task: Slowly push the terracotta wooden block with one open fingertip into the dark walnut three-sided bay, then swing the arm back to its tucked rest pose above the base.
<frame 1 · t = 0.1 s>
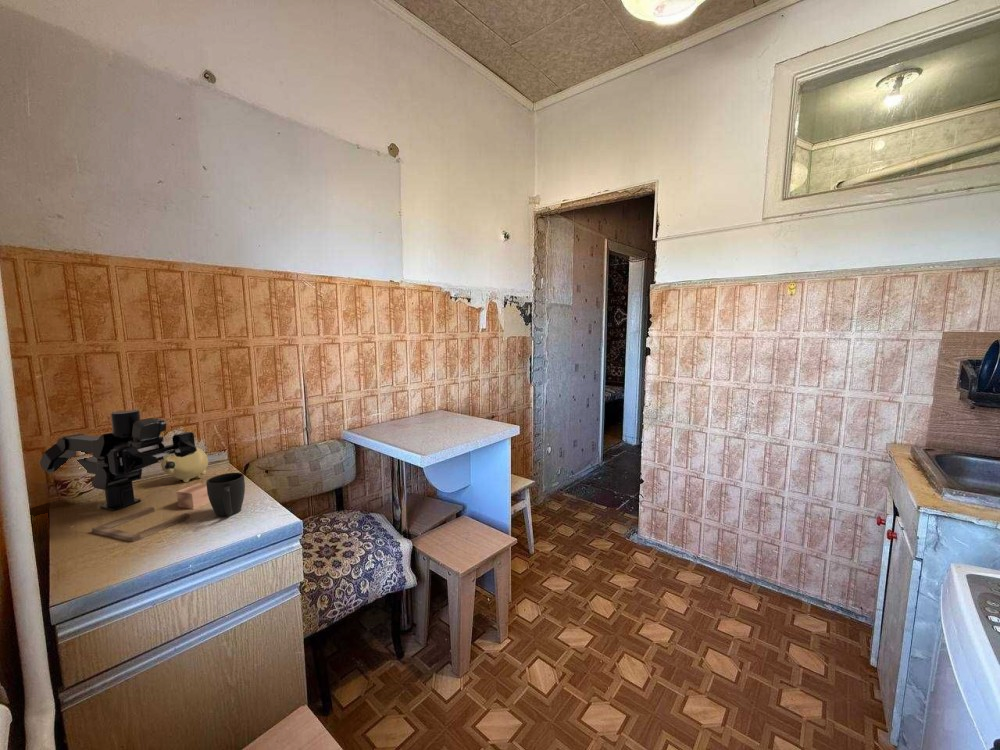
hand: (177, 454, 103), 17 cm above the table, tool horizontal, fingers open, 9 cm apart
terracotta block: (197, 503, 113), on the table
mug: (228, 516, 105), on the table
walnut bay: (146, 523, 102), on the table
toy pig: (187, 480, 132), on the table
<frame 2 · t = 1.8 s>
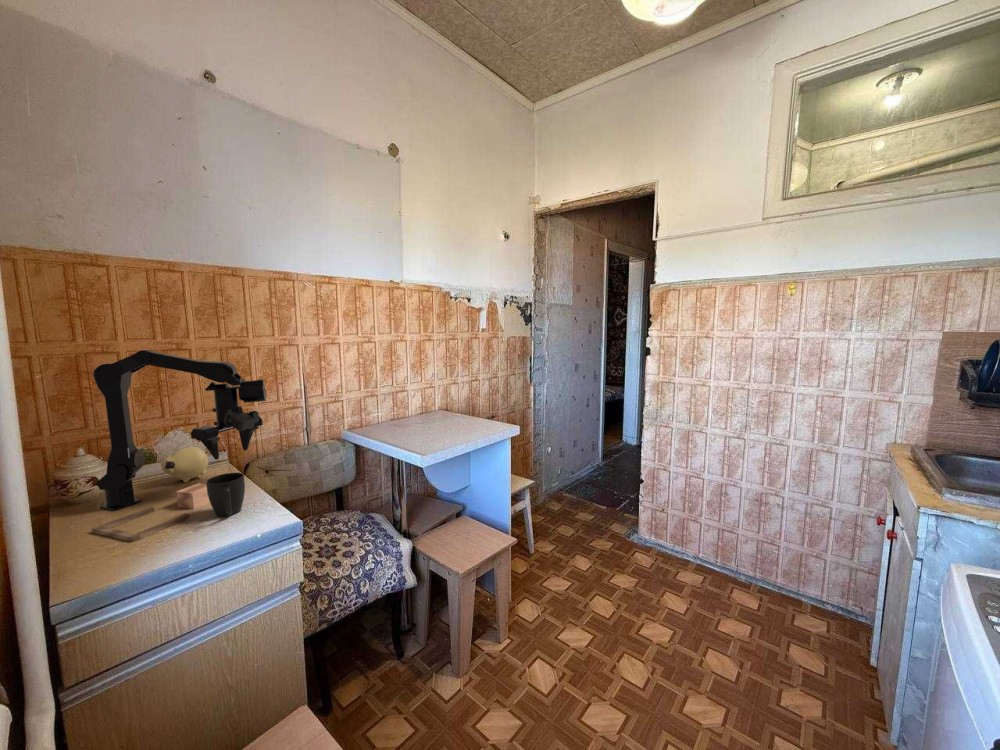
hand: (231, 454, 123), 11 cm above the table, tool pointing down, fingers open, 9 cm apart
nothing on the table moved.
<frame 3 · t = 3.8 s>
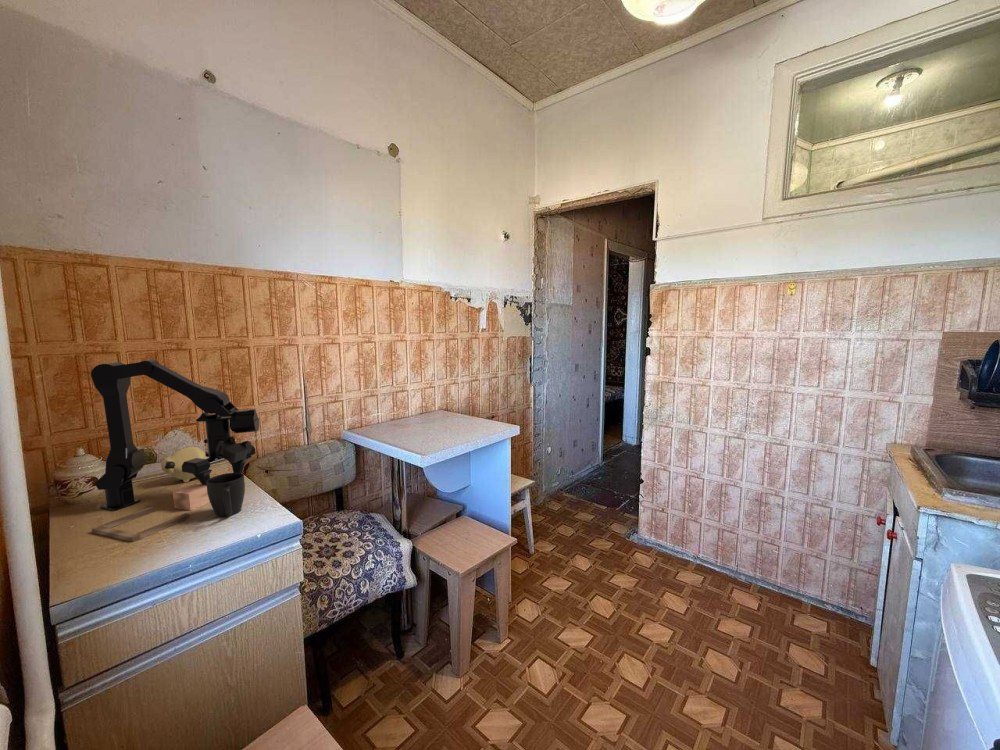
hand: (223, 485, 121), 2 cm above the table, tool pointing down, fingers open, 8 cm apart
terracotta block: (193, 504, 113), on the table, touching gripper
everything else where it was.
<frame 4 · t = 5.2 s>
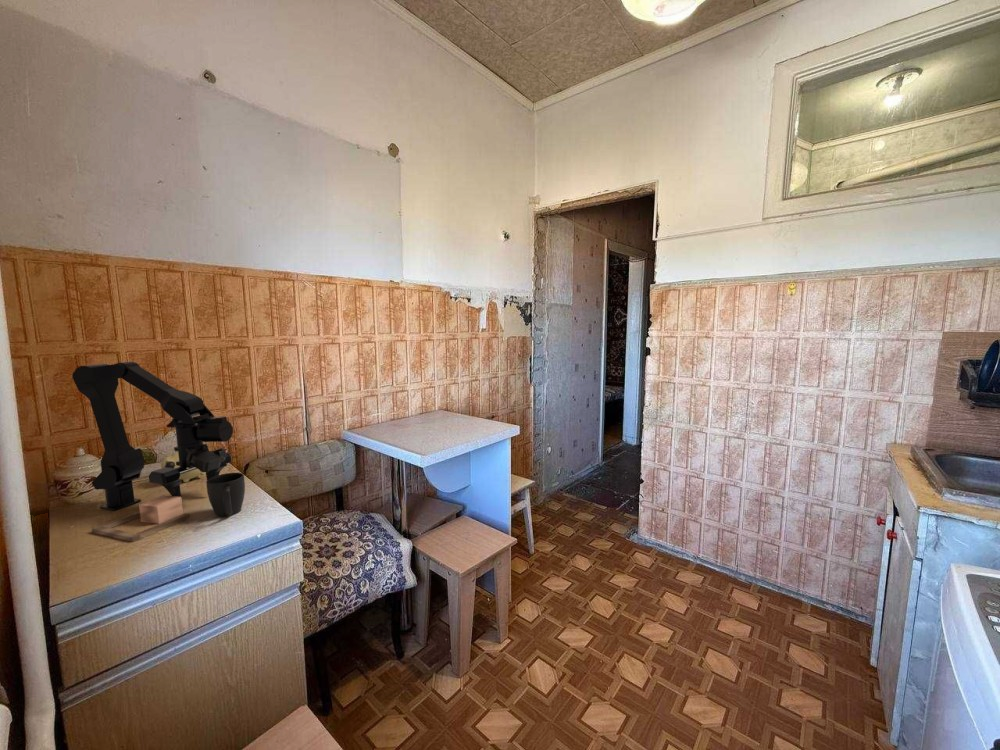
hand: (196, 496, 113), 2 cm above the table, tool pointing down, fingers open, 9 cm apart
terracotta block: (162, 517, 105), on the table, touching gripper
everything else where it was.
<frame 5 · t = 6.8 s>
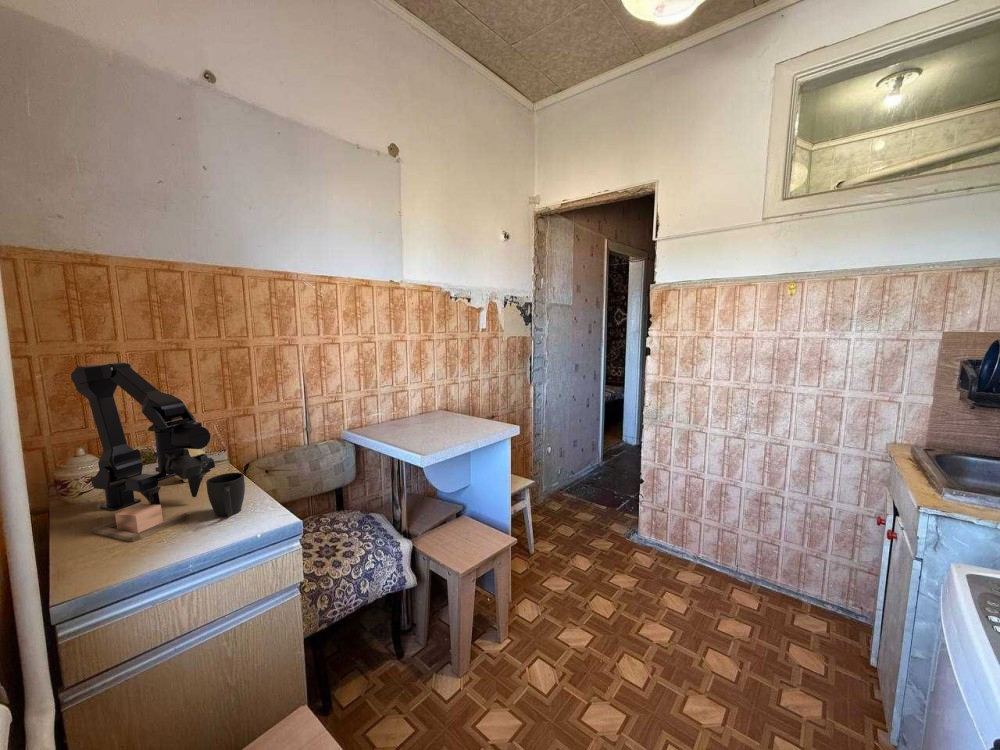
hand: (177, 503, 108), 2 cm above the table, tool pointing down, fingers open, 9 cm apart
terracotta block: (140, 526, 100), on the table, touching gripper
everything else where it was.
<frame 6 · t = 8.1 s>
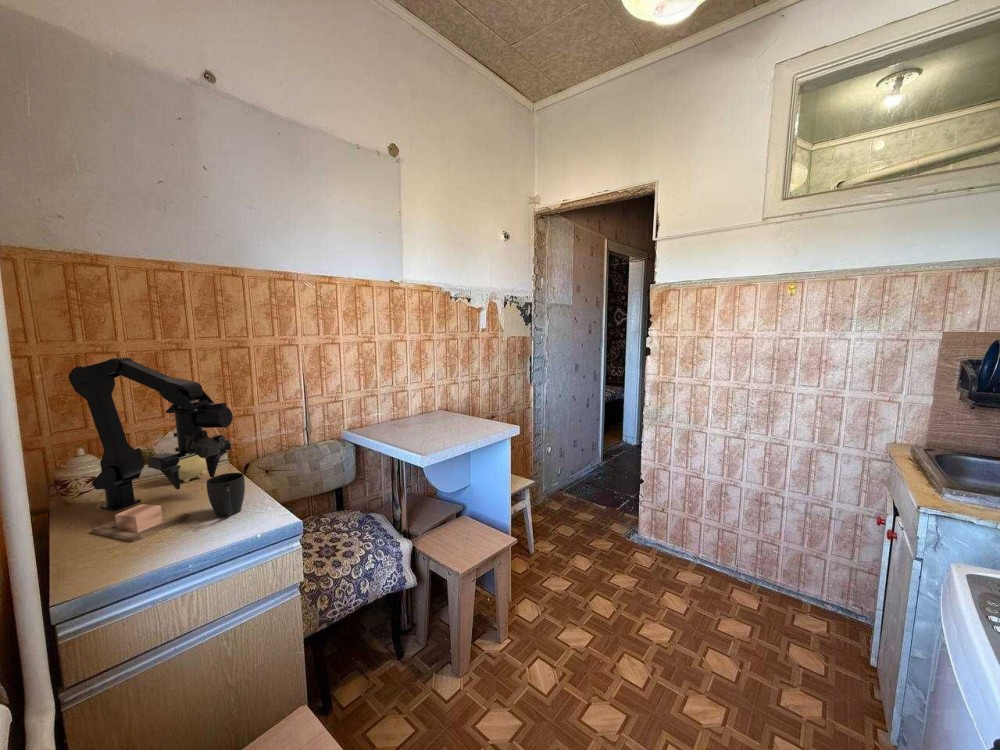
hand: (195, 482, 113), 6 cm above the table, tool pointing down, fingers open, 9 cm apart
terracotta block: (140, 527, 100), on the table
everything else where it was.
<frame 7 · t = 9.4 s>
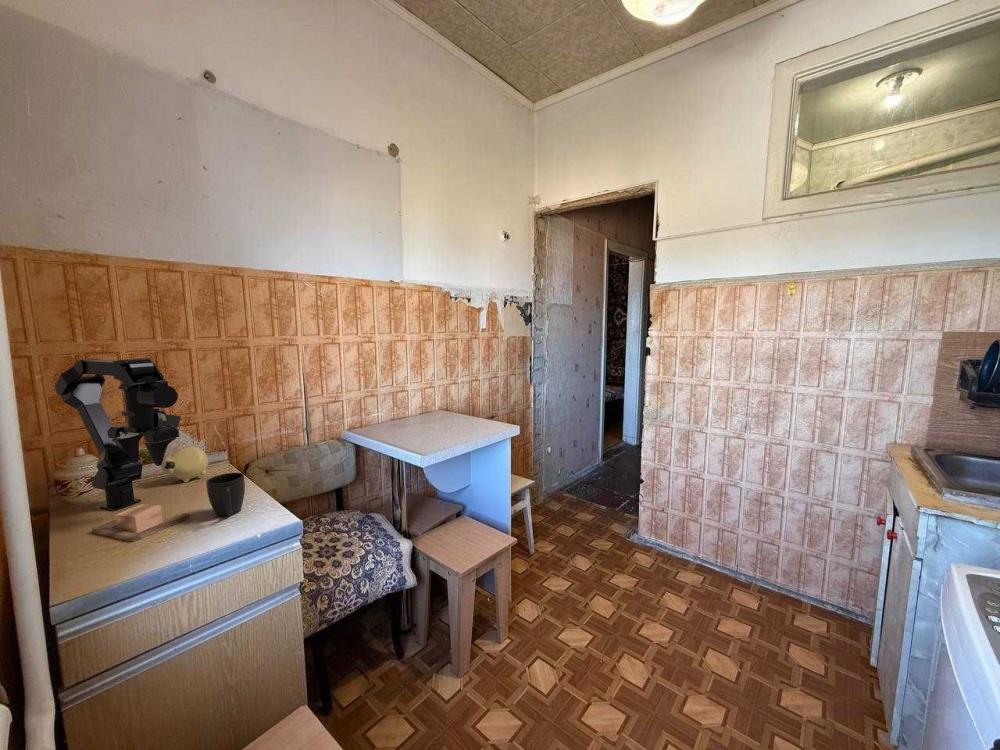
hand: (147, 463, 108), 13 cm above the table, tool pointing down, fingers open, 9 cm apart
nothing on the table moved.
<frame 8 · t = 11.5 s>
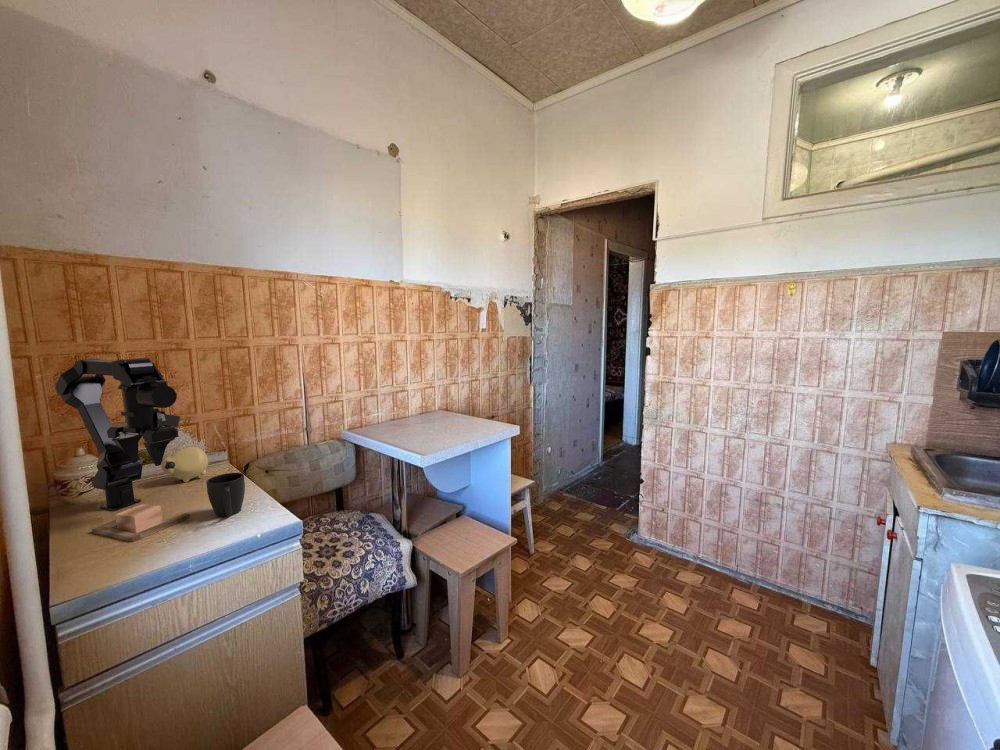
hand: (146, 463, 107), 13 cm above the table, tool pointing down, fingers open, 9 cm apart
nothing on the table moved.
at the end: terracotta block inside the target area on the walnut bay (1.3 cm from its centre), point 0.0 cm above the walnut bay's base; terracotta block tilted 0°; terracotta block moved 14.1 cm from its start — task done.
